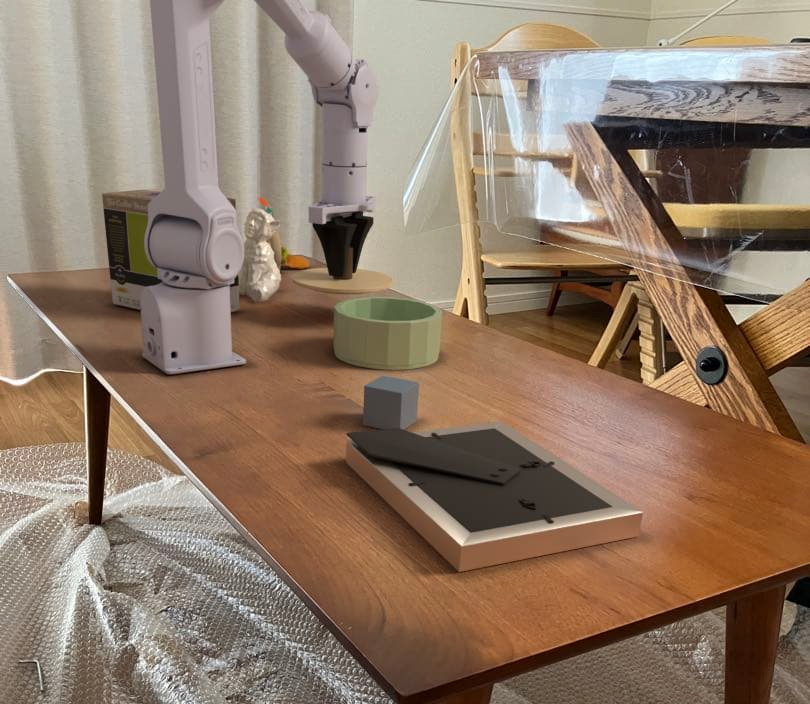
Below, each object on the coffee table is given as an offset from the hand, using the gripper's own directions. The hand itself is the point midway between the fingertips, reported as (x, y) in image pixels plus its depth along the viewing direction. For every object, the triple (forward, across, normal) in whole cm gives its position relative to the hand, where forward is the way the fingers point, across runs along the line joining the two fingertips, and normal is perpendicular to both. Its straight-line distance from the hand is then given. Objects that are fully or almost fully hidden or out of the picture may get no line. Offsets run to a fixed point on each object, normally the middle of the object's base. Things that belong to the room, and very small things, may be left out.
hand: (342, 274), depth 122 cm
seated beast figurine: (+6, +6, +18) cm, 19 cm away
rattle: (+6, +22, +23) cm, 33 cm away
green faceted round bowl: (+6, -12, -13) cm, 18 cm away
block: (+6, -33, -24) cm, 41 cm away
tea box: (+6, -9, +21) cm, 24 cm away
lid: (+1, 0, 0) cm, 1 cm away
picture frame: (+6, -45, -38) cm, 59 cm away
